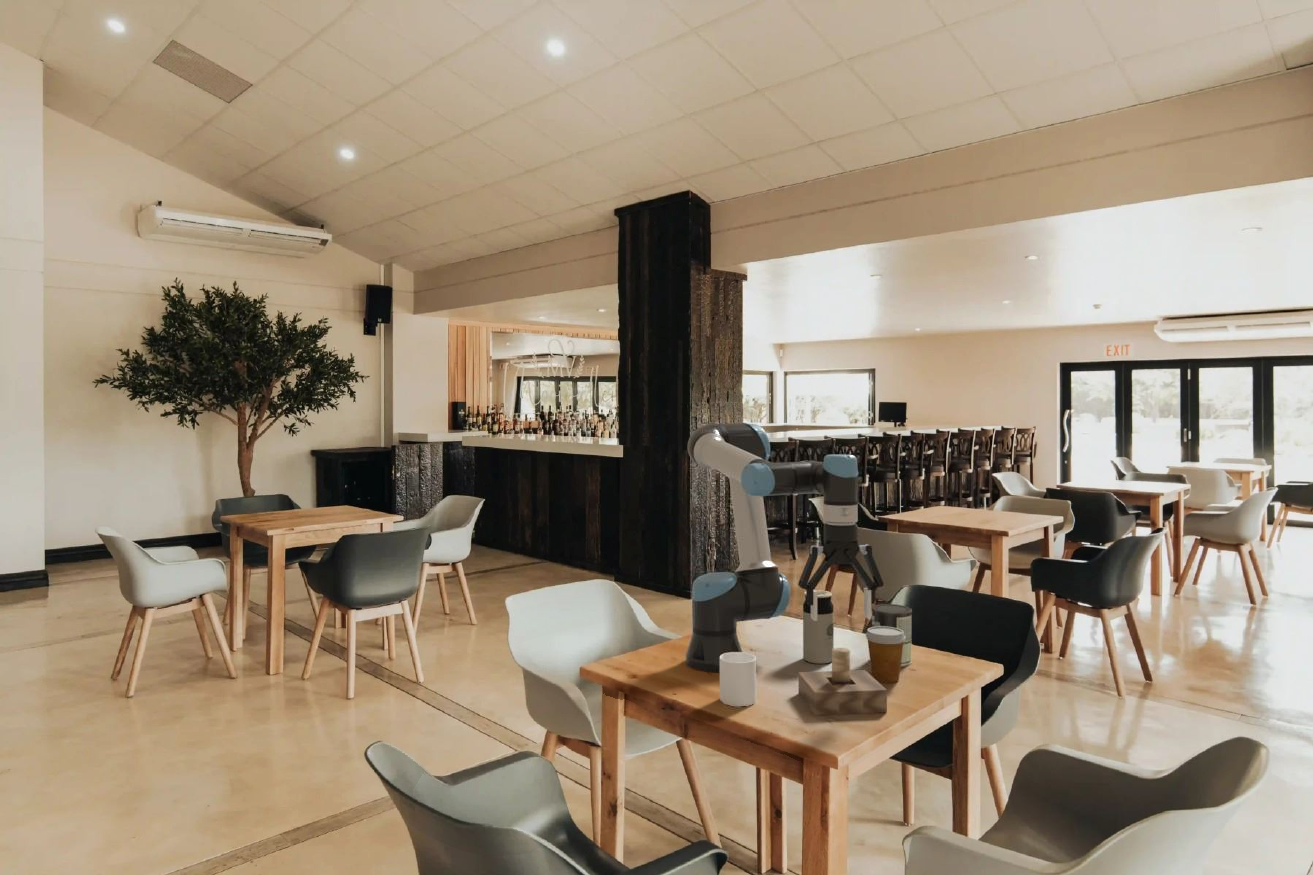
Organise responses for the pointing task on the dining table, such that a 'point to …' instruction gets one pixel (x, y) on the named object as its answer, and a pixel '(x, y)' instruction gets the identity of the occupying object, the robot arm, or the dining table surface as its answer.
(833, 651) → the peg
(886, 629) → the disposable coffee cup
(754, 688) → the cup
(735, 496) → the robot arm
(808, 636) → the travel mug
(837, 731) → the dining table surface
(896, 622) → the coffee can
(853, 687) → the board
